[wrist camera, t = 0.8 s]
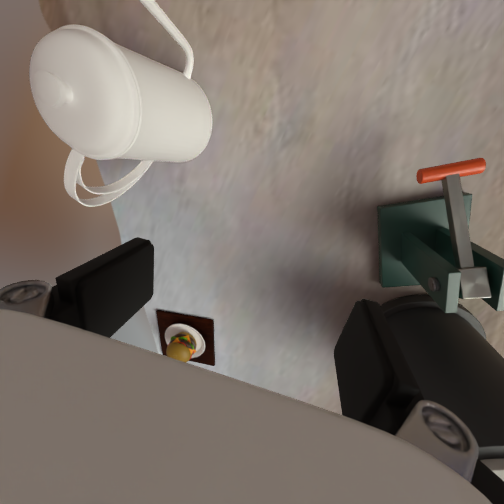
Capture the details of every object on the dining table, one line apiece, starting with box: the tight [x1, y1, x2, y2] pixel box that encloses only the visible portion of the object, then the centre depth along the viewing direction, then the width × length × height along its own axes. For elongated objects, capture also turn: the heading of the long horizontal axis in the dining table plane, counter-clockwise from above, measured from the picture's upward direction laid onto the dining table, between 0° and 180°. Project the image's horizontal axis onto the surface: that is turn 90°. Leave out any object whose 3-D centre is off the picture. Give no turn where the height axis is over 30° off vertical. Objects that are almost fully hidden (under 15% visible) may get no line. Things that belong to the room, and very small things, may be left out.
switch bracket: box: [377, 193, 504, 313], centre depth 27 cm, size 12×10×13 cm
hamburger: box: [156, 310, 215, 366], centre depth 47 cm, size 12×12×6 cm
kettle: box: [380, 295, 504, 481], centre depth 28 cm, size 20×21×23 cm
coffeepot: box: [29, 0, 213, 207], centre depth 24 cm, size 11×25×19 cm, turn 144°
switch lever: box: [417, 158, 491, 299], centre depth 23 cm, size 13×5×2 cm, turn 12°
